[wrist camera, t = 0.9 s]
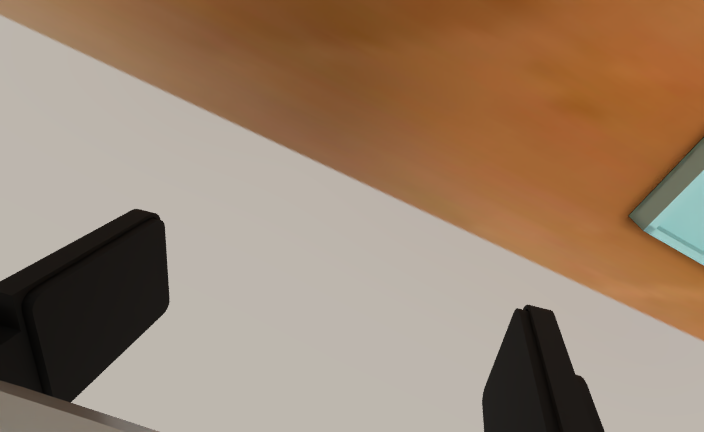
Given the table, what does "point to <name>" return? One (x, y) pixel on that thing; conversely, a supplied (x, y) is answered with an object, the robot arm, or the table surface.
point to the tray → (678, 207)
